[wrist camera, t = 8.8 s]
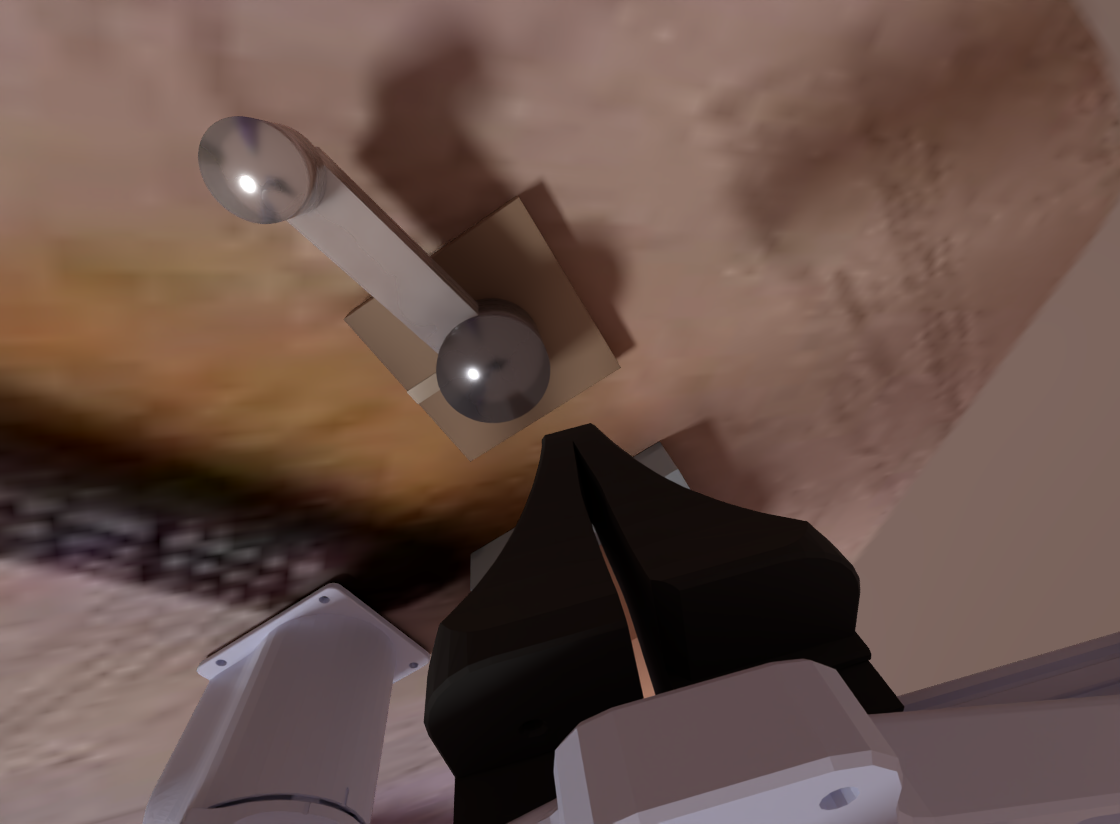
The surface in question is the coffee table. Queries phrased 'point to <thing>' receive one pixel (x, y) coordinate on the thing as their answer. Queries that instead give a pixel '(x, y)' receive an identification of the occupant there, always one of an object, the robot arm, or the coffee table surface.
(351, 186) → the crank
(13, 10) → the coffee table surface
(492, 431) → the crank base
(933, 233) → the coffee table surface
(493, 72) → the coffee table surface
